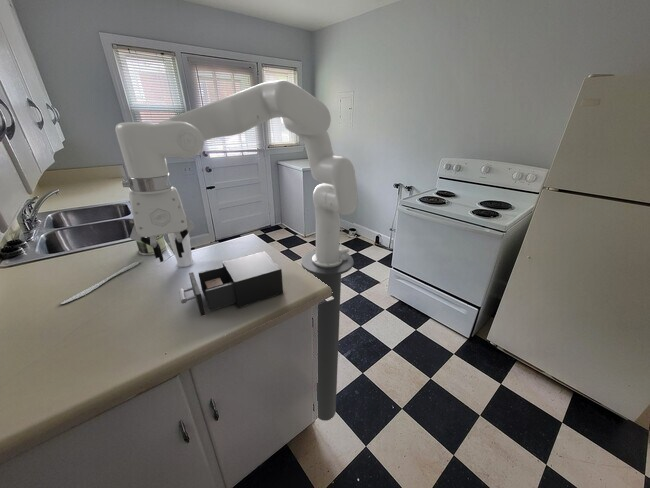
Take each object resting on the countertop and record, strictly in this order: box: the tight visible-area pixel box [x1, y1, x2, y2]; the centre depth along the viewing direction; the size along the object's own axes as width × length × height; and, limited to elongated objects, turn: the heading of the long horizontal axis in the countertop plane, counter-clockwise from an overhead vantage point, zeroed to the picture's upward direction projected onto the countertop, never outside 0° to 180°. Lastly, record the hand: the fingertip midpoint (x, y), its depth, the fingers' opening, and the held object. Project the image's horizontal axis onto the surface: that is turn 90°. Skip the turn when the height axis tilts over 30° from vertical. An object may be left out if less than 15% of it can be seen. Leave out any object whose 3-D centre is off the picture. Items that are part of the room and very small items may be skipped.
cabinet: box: [221, 251, 284, 309], centre depth 88 cm, size 15×15×9 cm
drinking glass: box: [167, 232, 194, 268], centre depth 101 cm, size 7×7×15 cm
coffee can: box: [129, 218, 168, 256], centre depth 113 cm, size 10×10×14 cm
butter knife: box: [60, 261, 140, 305], centre depth 93 cm, size 1×27×3 cm
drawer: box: [177, 265, 237, 317], centre depth 82 cm, size 18×13×7 cm
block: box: [205, 278, 223, 290], centre depth 82 cm, size 4×4×4 cm
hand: (170, 256), depth 67 cm, fingers open, 3 cm apart
